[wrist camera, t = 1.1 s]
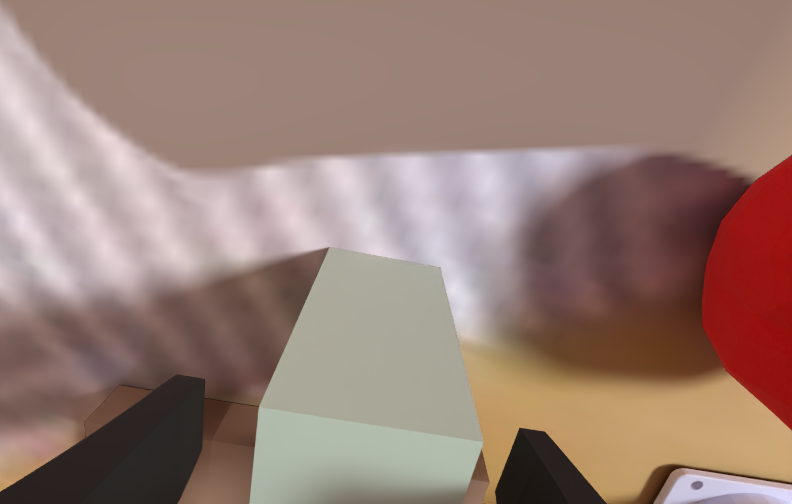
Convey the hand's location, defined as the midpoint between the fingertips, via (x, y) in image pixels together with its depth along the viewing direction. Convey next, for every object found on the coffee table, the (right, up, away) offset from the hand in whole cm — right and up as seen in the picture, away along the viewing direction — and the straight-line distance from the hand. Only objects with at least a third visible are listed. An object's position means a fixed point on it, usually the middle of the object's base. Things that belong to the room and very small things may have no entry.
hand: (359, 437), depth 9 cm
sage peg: (0, +2, +6) cm, 6 cm away
